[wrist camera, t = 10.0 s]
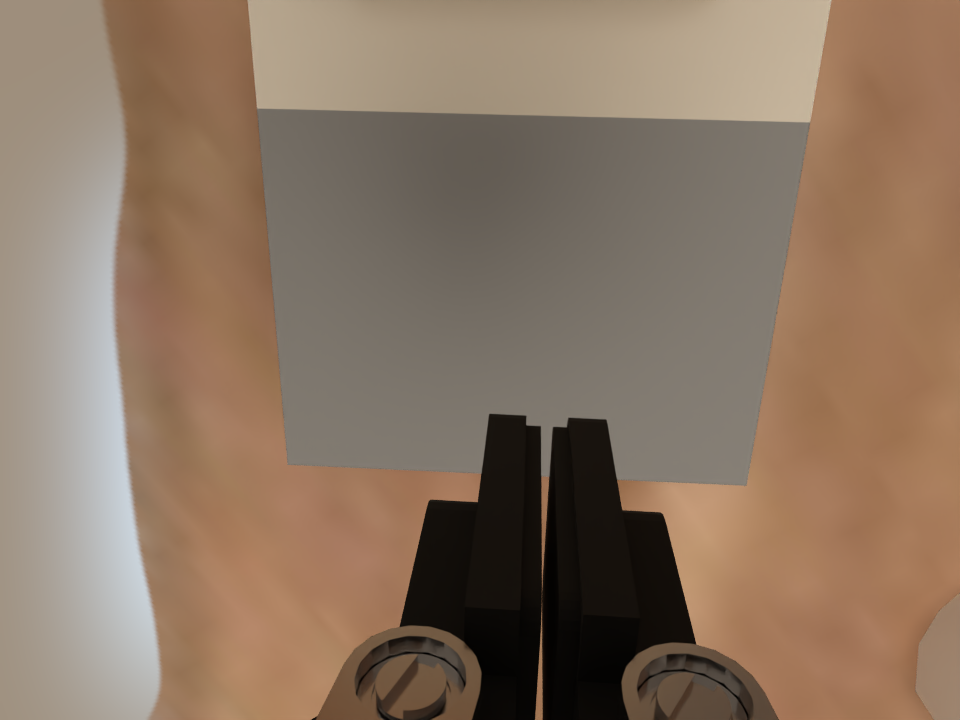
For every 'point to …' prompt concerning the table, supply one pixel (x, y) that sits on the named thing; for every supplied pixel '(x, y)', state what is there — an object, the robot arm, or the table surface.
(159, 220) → the table surface
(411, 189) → the grey and cream slab
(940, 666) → the teardrop
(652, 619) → the robot arm
